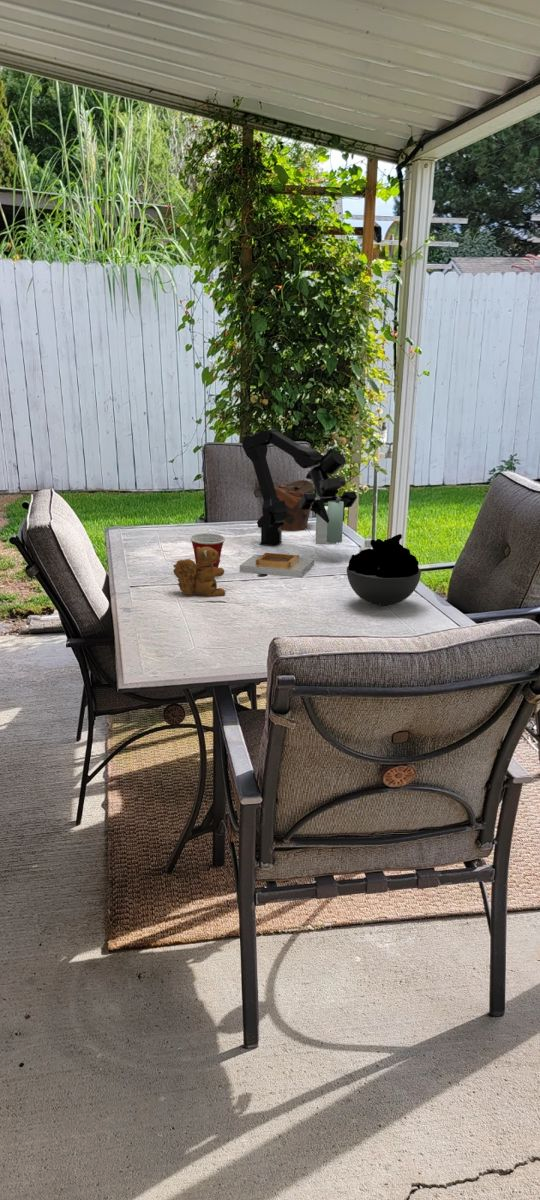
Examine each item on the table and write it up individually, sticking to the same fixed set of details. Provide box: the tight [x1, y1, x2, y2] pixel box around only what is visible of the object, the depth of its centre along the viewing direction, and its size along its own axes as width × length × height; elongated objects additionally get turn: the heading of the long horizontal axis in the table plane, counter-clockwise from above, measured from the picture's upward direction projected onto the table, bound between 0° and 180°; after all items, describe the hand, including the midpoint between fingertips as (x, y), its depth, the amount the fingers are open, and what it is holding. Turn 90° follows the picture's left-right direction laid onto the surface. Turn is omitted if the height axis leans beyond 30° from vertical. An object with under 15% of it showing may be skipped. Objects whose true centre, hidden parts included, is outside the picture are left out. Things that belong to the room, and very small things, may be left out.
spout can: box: [327, 497, 344, 544], centre depth 281 cm, size 5×5×15 cm
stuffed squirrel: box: [172, 547, 226, 597], centre depth 245 cm, size 10×14×13 cm
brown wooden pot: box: [274, 479, 315, 531], centre depth 336 cm, size 18×20×18 cm
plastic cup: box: [189, 532, 226, 568], centre depth 264 cm, size 11×11×12 cm
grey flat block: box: [239, 552, 315, 578], centre depth 275 cm, size 20×16×4 cm
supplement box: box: [315, 505, 337, 545], centre depth 313 cm, size 7×7×13 cm
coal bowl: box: [346, 533, 422, 607], centre depth 235 cm, size 20×20×19 cm
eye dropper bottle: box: [358, 534, 373, 553], centre depth 270 cm, size 4×6×12 cm
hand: (335, 521), depth 281 cm, fingers closed on spout can, 5 cm apart
